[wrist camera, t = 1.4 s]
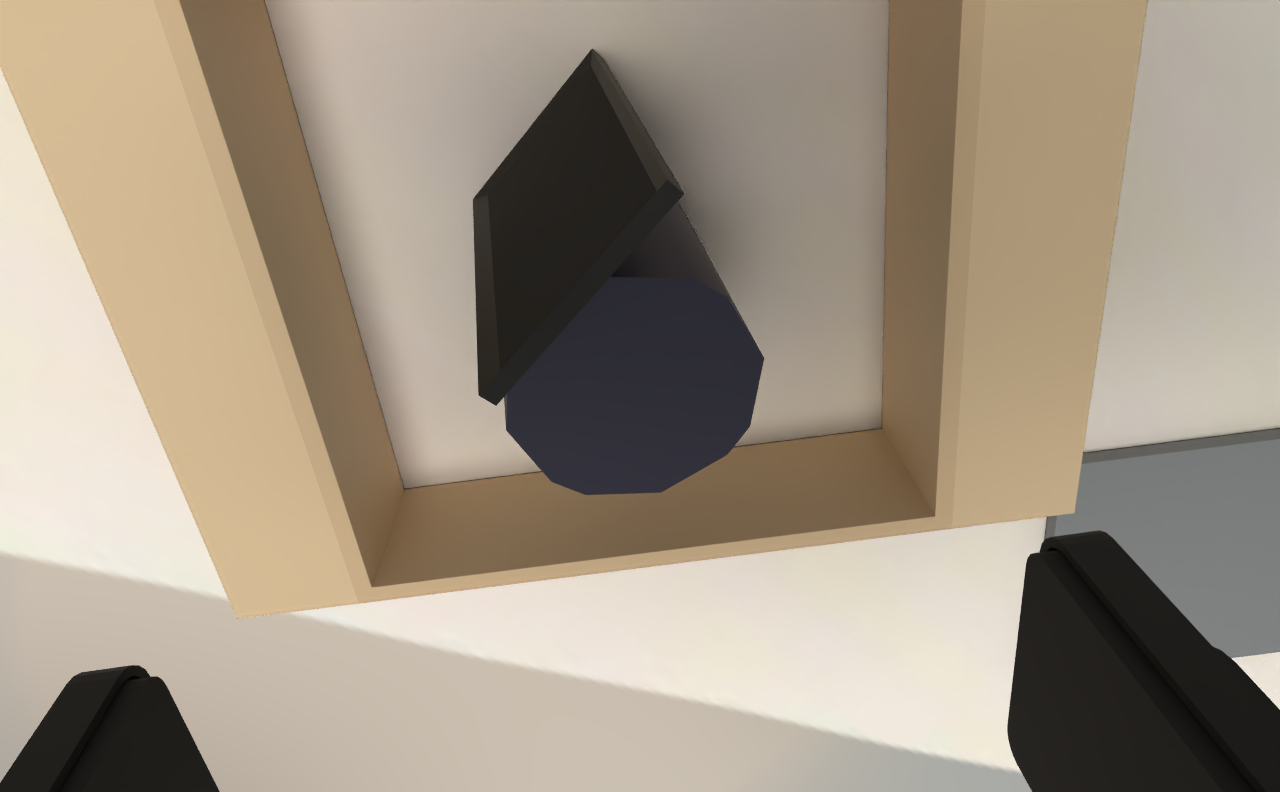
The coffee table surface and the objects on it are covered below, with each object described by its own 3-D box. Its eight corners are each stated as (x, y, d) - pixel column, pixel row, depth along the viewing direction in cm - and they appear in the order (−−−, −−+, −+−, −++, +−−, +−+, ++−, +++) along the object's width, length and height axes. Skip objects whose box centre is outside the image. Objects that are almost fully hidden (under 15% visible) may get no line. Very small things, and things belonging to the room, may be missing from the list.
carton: (1054, -174, 21) (1176, -203, 17) (1000, 426, 29) (1074, 512, 25) (83, -48, 22) (-48, -45, 17) (289, 516, 29) (236, 618, 25)
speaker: (414, 154, 24) (372, 322, 15) (597, 44, 23) (663, 154, 14) (556, 360, 28) (589, 588, 19) (717, 272, 27) (827, 467, 18)
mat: (1345, 420, 30) (1359, 428, 29) (1279, 639, 35) (1290, 650, 34) (1055, 457, 30) (1063, 466, 29) (1028, 671, 35) (1035, 682, 34)
